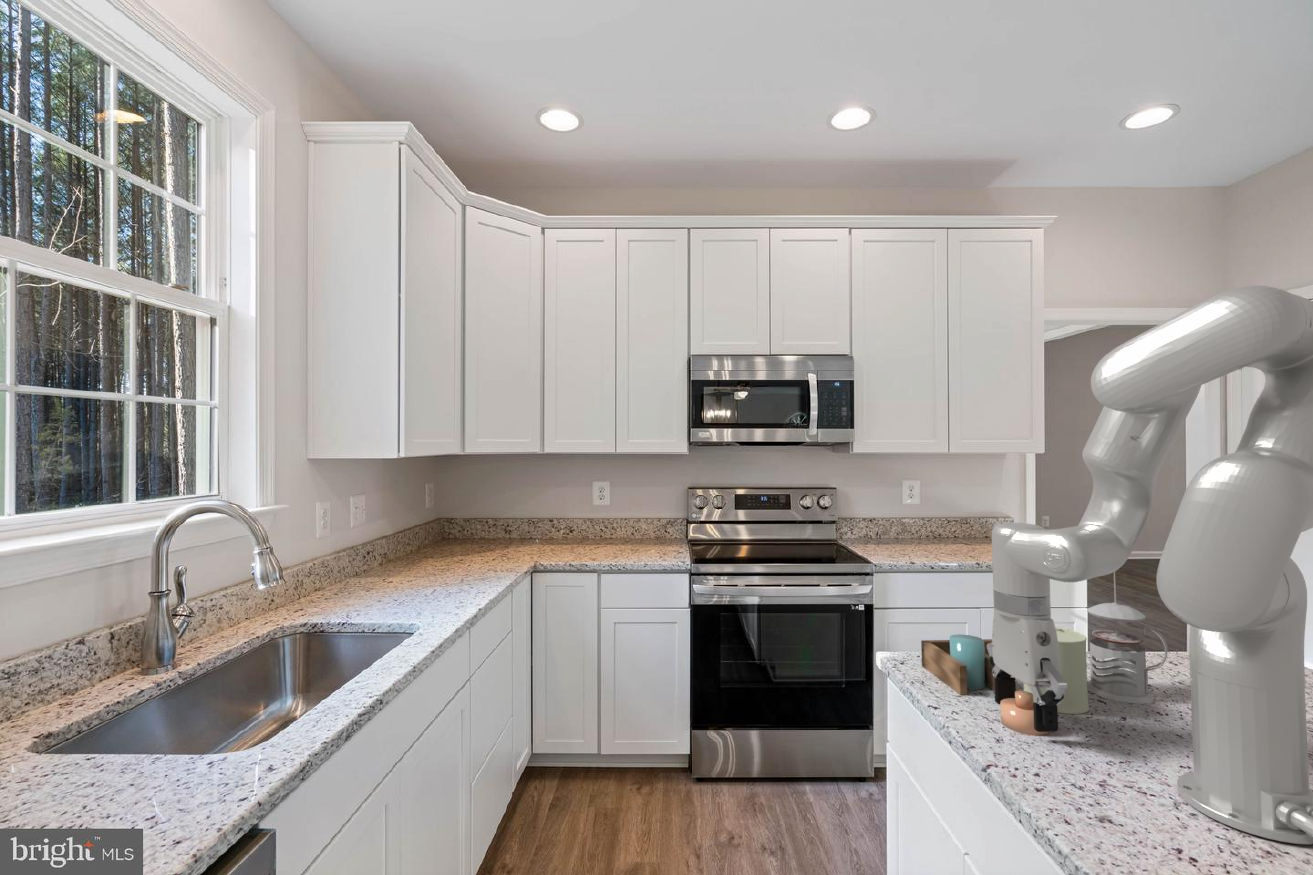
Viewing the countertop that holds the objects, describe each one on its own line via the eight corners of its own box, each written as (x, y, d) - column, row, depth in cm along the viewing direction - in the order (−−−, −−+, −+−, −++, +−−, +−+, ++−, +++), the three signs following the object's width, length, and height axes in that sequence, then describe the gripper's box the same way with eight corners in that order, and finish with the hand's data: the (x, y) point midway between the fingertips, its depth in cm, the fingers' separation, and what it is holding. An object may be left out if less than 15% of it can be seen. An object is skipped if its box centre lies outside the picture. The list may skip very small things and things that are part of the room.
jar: (992, 689, 103) (990, 643, 103) (961, 689, 103) (960, 644, 103) (974, 677, 109) (973, 634, 109) (944, 677, 109) (943, 634, 109)
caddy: (1081, 692, 101) (1080, 663, 101) (960, 694, 101) (959, 665, 101) (1028, 663, 115) (1027, 638, 115) (921, 665, 115) (921, 640, 115)
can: (1092, 701, 98) (1090, 629, 98) (1085, 719, 91) (1082, 642, 92) (1029, 686, 104) (1027, 619, 105) (1017, 703, 97) (1015, 631, 98)
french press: (1088, 676, 109) (1084, 542, 109) (1171, 694, 100) (1166, 549, 101) (1078, 692, 102) (1074, 548, 102) (1166, 712, 93) (1161, 556, 94)
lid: (1060, 735, 86) (1059, 701, 86) (1018, 736, 86) (1017, 702, 86) (1031, 716, 93) (1030, 684, 93) (992, 717, 93) (991, 685, 93)
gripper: (1087, 619, 81) (1091, 743, 81) (1010, 590, 99) (1012, 692, 98) (1035, 619, 81) (1039, 744, 81) (966, 591, 99) (969, 693, 98)
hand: (1024, 715), depth 89 cm, fingers open, 9 cm apart
